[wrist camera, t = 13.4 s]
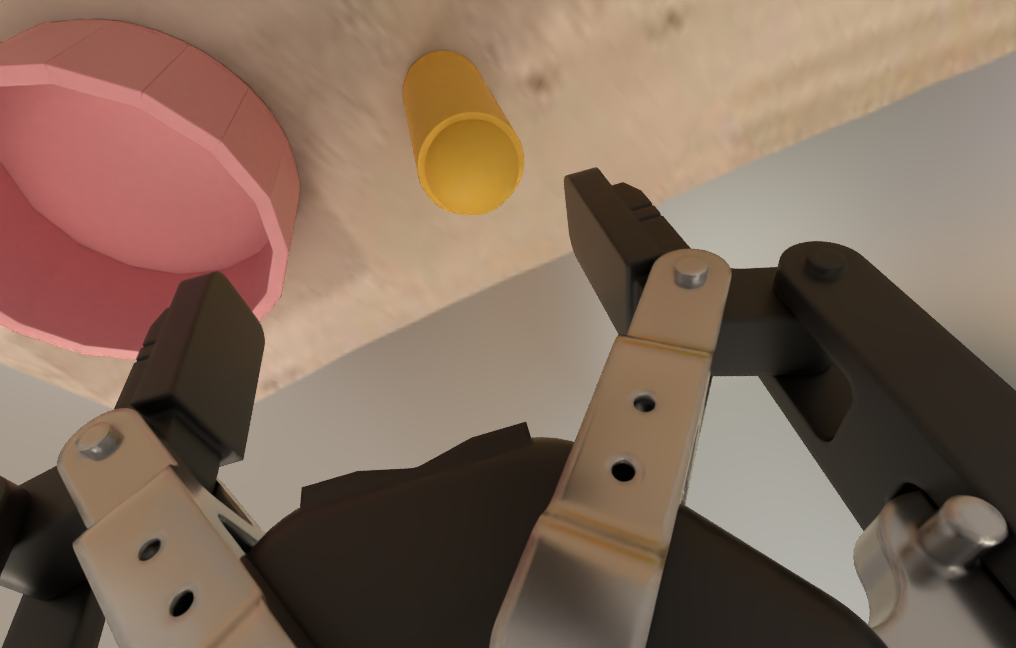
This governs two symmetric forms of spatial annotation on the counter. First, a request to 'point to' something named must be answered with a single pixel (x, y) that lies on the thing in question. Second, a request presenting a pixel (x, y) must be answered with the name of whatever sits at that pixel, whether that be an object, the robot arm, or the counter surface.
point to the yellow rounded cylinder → (460, 135)
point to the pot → (131, 183)
